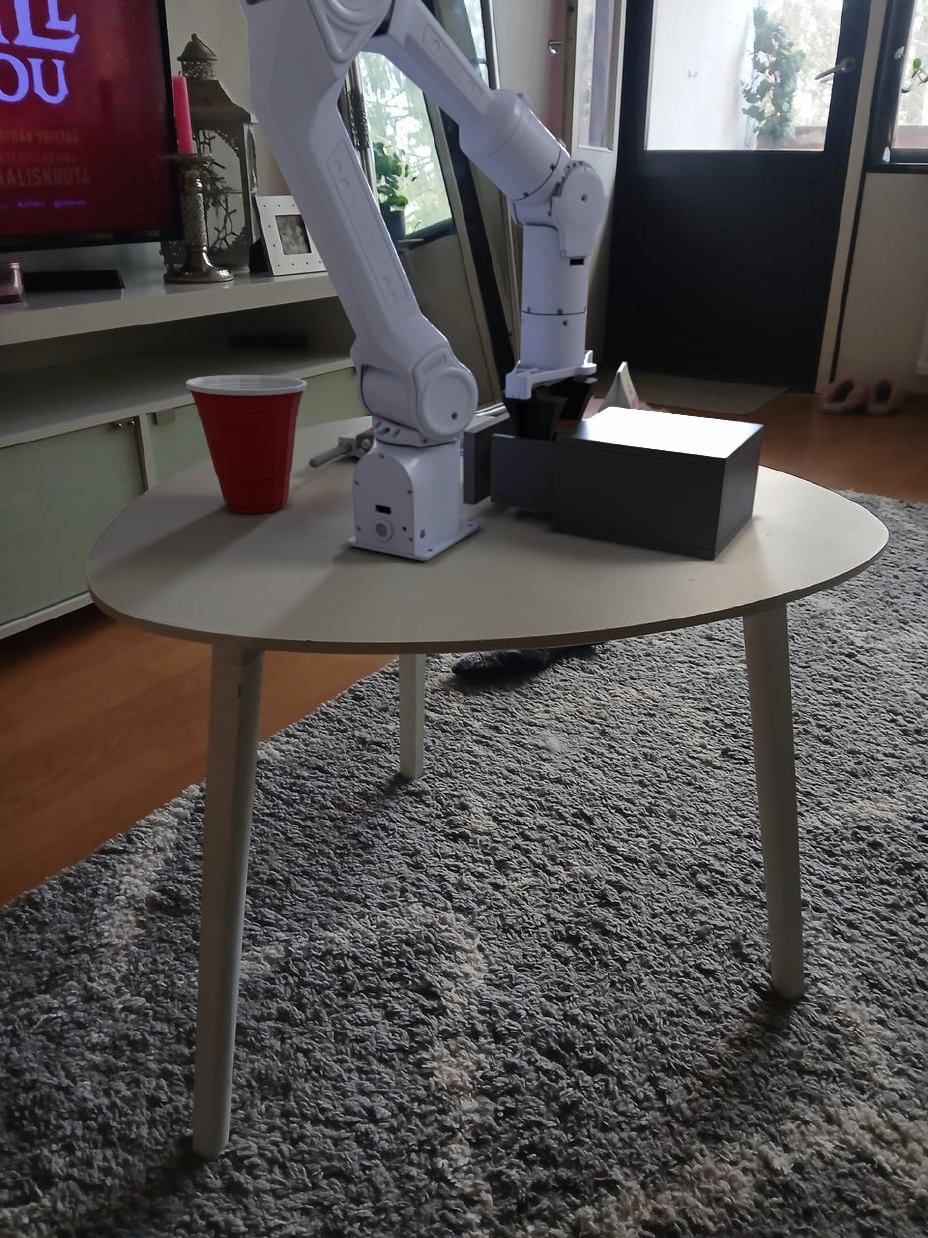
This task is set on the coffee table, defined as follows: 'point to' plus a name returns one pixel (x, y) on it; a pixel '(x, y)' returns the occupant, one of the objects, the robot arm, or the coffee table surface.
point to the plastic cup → (250, 436)
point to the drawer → (507, 466)
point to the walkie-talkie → (348, 446)
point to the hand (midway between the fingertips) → (548, 462)
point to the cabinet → (656, 480)
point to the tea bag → (621, 392)
